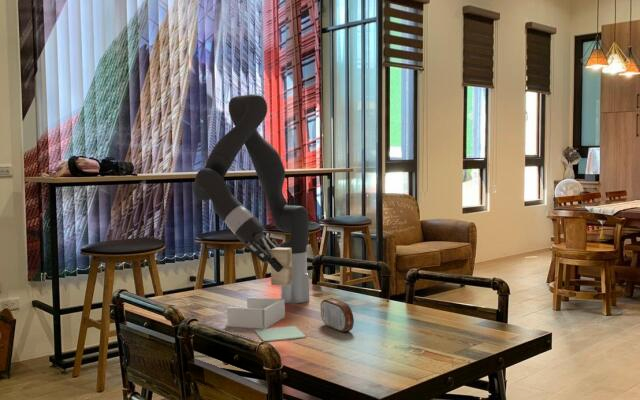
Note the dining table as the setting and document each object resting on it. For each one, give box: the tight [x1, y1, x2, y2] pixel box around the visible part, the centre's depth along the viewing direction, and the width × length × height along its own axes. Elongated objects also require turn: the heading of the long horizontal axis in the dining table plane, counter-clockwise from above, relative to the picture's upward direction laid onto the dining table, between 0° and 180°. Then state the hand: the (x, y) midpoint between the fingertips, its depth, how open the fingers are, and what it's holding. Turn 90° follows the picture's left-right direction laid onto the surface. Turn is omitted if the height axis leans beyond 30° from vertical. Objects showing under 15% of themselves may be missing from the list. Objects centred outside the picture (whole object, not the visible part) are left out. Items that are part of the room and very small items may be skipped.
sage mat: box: [254, 325, 307, 343], centre depth 190 cm, size 12×12×1 cm
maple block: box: [270, 247, 292, 287], centre depth 188 cm, size 4×4×10 cm
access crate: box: [225, 296, 286, 329], centre depth 206 cm, size 13×15×6 cm
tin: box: [320, 297, 355, 333], centre depth 195 cm, size 15×3×8 cm, turn 29°
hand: (284, 268), depth 188 cm, fingers closed on maple block, 4 cm apart
